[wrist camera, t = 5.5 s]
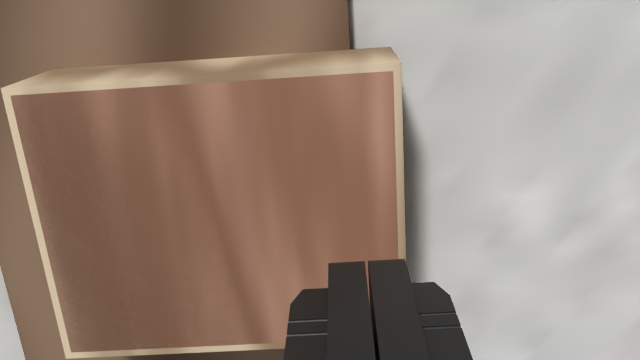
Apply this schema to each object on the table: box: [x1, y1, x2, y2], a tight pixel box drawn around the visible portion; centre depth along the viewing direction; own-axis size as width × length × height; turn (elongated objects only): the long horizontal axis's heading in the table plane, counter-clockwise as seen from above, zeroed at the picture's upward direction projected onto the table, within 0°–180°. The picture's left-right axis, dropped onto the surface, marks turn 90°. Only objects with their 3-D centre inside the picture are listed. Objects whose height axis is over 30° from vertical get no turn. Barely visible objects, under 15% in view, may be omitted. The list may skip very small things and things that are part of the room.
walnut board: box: [0, 0, 350, 360], centre depth 20 cm, size 12×14×1 cm
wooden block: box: [1, 47, 406, 359], centre depth 18 cm, size 3×8×10 cm
